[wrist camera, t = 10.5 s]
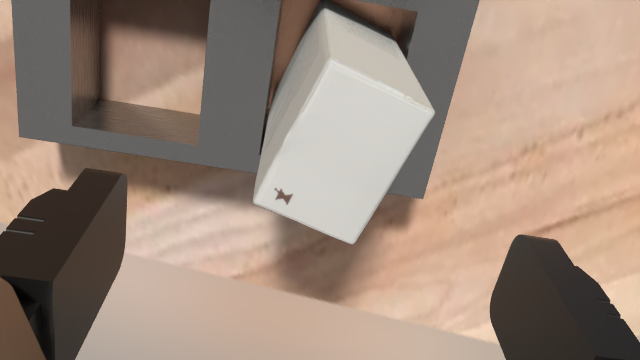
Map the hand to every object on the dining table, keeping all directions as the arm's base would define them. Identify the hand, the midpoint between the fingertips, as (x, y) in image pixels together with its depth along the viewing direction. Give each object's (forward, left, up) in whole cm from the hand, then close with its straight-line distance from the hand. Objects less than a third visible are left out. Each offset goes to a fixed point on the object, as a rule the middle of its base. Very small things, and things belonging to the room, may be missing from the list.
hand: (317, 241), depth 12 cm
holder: (-3, -2, -20) cm, 21 cm away
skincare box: (+1, -2, -20) cm, 20 cm away
